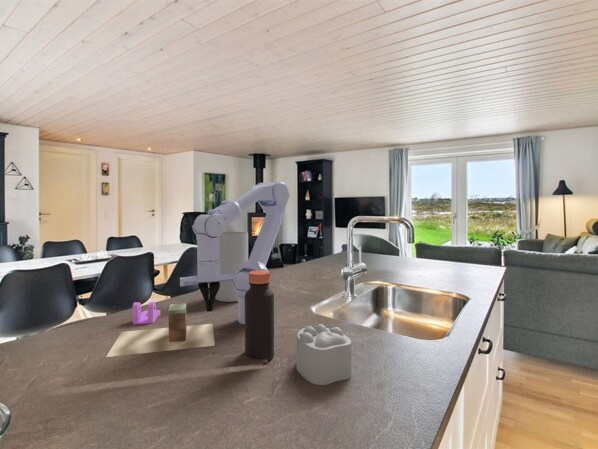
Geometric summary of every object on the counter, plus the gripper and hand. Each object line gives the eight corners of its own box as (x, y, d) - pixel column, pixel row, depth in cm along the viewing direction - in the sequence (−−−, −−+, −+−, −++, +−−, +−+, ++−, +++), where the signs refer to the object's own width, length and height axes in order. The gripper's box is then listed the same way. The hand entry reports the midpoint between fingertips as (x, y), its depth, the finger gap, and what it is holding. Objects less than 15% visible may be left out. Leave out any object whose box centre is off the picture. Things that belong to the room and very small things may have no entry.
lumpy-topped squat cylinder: (314, 388, 66) (314, 344, 66) (287, 360, 78) (287, 323, 77) (358, 376, 71) (358, 335, 70) (326, 352, 82) (326, 317, 82)
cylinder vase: (209, 297, 130) (208, 232, 129) (237, 292, 139) (236, 231, 137) (225, 304, 121) (225, 235, 120) (254, 298, 130) (254, 233, 128)
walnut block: (186, 332, 92) (186, 303, 92) (185, 340, 86) (185, 309, 86) (171, 333, 91) (170, 304, 91) (168, 342, 85) (168, 311, 85)
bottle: (250, 366, 75) (250, 276, 74) (241, 354, 81) (240, 271, 80) (278, 359, 78) (278, 273, 77) (267, 348, 84) (267, 268, 83)
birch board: (212, 327, 99) (212, 323, 99) (214, 349, 84) (214, 345, 84) (121, 335, 92) (121, 331, 92) (105, 361, 77) (105, 357, 77)
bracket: (153, 326, 99) (152, 303, 99) (132, 328, 98) (132, 304, 98) (162, 313, 112) (161, 292, 112) (143, 314, 111) (143, 293, 111)
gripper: (233, 256, 96) (234, 303, 97) (179, 259, 91) (180, 308, 92) (238, 260, 89) (238, 311, 90) (179, 263, 84) (180, 316, 85)
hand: (209, 310), depth 91 cm, fingers closed
